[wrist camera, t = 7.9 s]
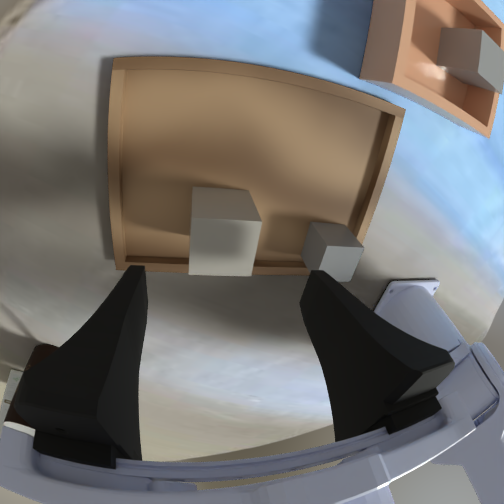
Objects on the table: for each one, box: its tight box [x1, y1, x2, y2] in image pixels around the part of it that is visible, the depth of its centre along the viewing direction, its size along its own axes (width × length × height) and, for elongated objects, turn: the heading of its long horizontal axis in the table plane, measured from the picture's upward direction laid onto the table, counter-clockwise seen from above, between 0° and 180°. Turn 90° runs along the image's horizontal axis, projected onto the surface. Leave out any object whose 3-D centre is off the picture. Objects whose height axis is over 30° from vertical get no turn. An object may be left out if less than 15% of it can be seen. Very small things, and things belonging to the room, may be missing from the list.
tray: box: [108, 57, 406, 275], centre depth 17 cm, size 13×17×1 cm
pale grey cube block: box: [189, 187, 262, 276], centre depth 16 cm, size 3×3×4 cm
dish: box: [359, 0, 504, 139], centre depth 11 cm, size 10×10×4 cm
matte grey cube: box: [436, 27, 504, 94], centre depth 11 cm, size 3×3×4 cm
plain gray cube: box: [301, 222, 364, 282], centre depth 19 cm, size 3×3×3 cm
